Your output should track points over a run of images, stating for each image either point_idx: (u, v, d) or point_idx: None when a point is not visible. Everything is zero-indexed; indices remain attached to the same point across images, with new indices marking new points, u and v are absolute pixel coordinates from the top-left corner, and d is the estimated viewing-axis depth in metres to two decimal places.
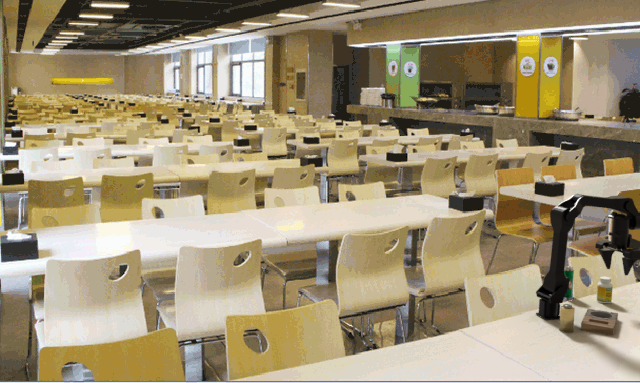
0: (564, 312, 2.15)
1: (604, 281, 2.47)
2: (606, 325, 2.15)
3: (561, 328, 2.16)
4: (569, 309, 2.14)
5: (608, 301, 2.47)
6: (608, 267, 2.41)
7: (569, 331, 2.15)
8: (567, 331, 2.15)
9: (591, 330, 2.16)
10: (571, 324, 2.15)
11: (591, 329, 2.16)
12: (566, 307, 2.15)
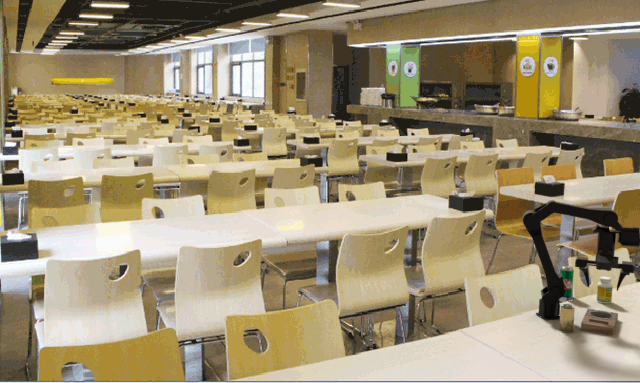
0: (564, 312, 2.15)
1: (604, 281, 2.47)
2: (606, 325, 2.15)
3: (561, 328, 2.16)
4: (569, 309, 2.14)
5: (608, 301, 2.47)
6: None
7: (569, 331, 2.15)
8: (567, 331, 2.15)
9: (591, 330, 2.16)
10: (571, 324, 2.15)
11: (591, 329, 2.16)
12: (566, 307, 2.15)
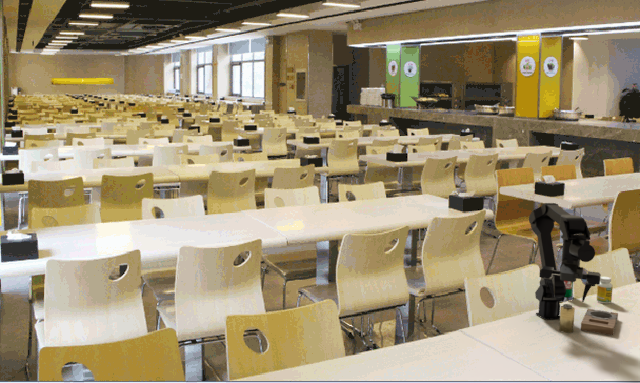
0: (564, 312, 2.15)
1: (604, 281, 2.47)
2: (606, 325, 2.15)
3: (561, 328, 2.16)
4: (569, 309, 2.14)
5: (608, 301, 2.47)
6: (582, 299, 2.14)
7: (569, 331, 2.15)
8: (567, 331, 2.15)
9: (591, 330, 2.16)
10: (571, 324, 2.15)
11: (591, 329, 2.16)
12: (566, 307, 2.15)
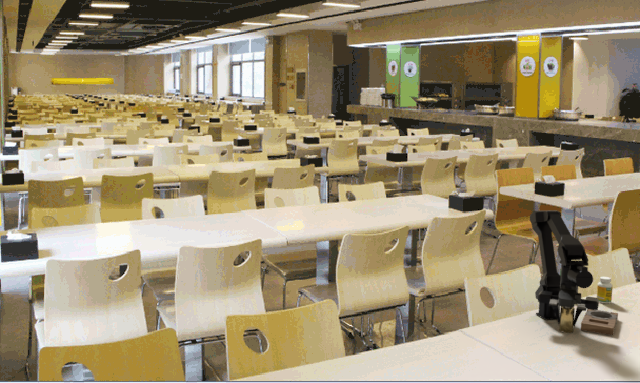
0: (564, 312, 2.15)
1: (604, 281, 2.47)
2: (606, 325, 2.15)
3: (561, 328, 2.16)
4: (569, 309, 2.14)
5: (608, 301, 2.47)
6: None
7: (569, 331, 2.15)
8: (567, 331, 2.15)
9: (591, 330, 2.16)
10: (571, 324, 2.15)
11: (591, 329, 2.16)
12: (566, 307, 2.15)
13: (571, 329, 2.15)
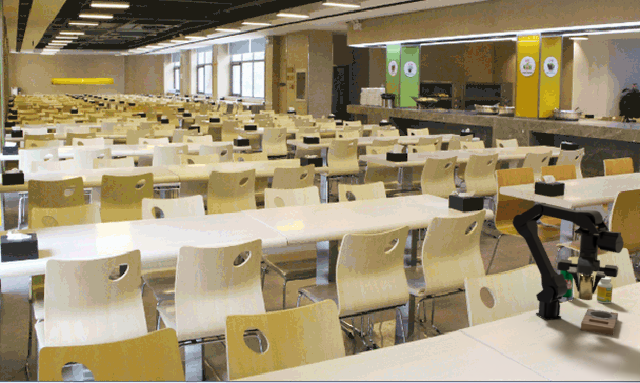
0: (583, 279, 2.18)
1: (604, 281, 2.47)
2: (606, 325, 2.15)
3: (580, 295, 2.19)
4: (588, 277, 2.17)
5: (608, 301, 2.47)
6: None
7: (588, 298, 2.18)
8: (586, 298, 2.18)
9: (591, 330, 2.16)
10: (590, 291, 2.18)
11: (591, 329, 2.16)
12: (585, 275, 2.18)
13: (590, 296, 2.18)
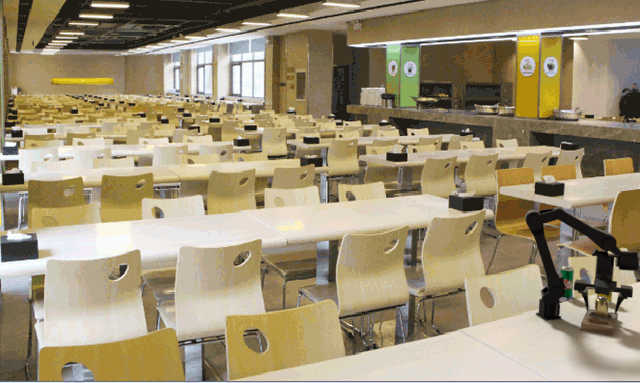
0: (599, 304, 2.24)
1: None
2: (606, 325, 2.15)
3: None
4: (604, 301, 2.24)
5: None
6: None
7: None
8: None
9: (591, 330, 2.16)
10: (605, 315, 2.24)
11: (591, 329, 2.16)
12: (601, 299, 2.25)
13: None
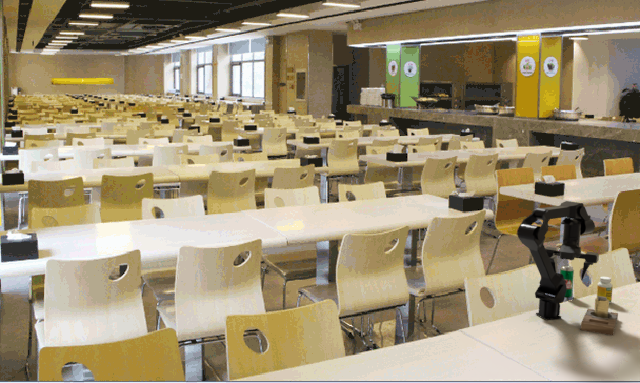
0: (599, 304, 2.24)
1: (604, 281, 2.47)
2: (606, 325, 2.15)
3: None
4: (604, 301, 2.24)
5: None
6: None
7: None
8: None
9: (591, 330, 2.16)
10: (605, 315, 2.24)
11: (591, 329, 2.16)
12: (601, 299, 2.25)
13: None
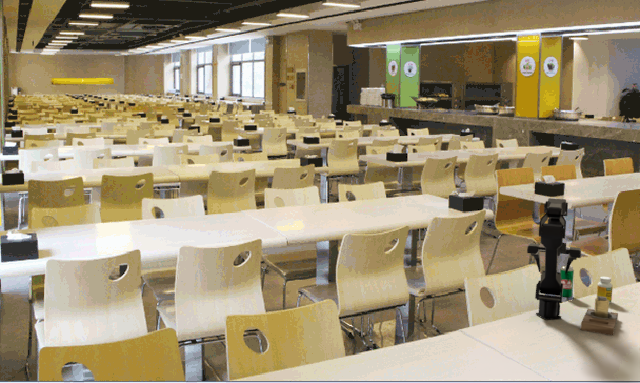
0: (599, 304, 2.24)
1: (604, 281, 2.47)
2: (606, 325, 2.15)
3: None
4: (604, 301, 2.24)
5: None
6: (565, 272, 2.40)
7: None
8: None
9: (591, 330, 2.16)
10: (605, 315, 2.24)
11: (591, 329, 2.16)
12: (601, 299, 2.25)
13: None
